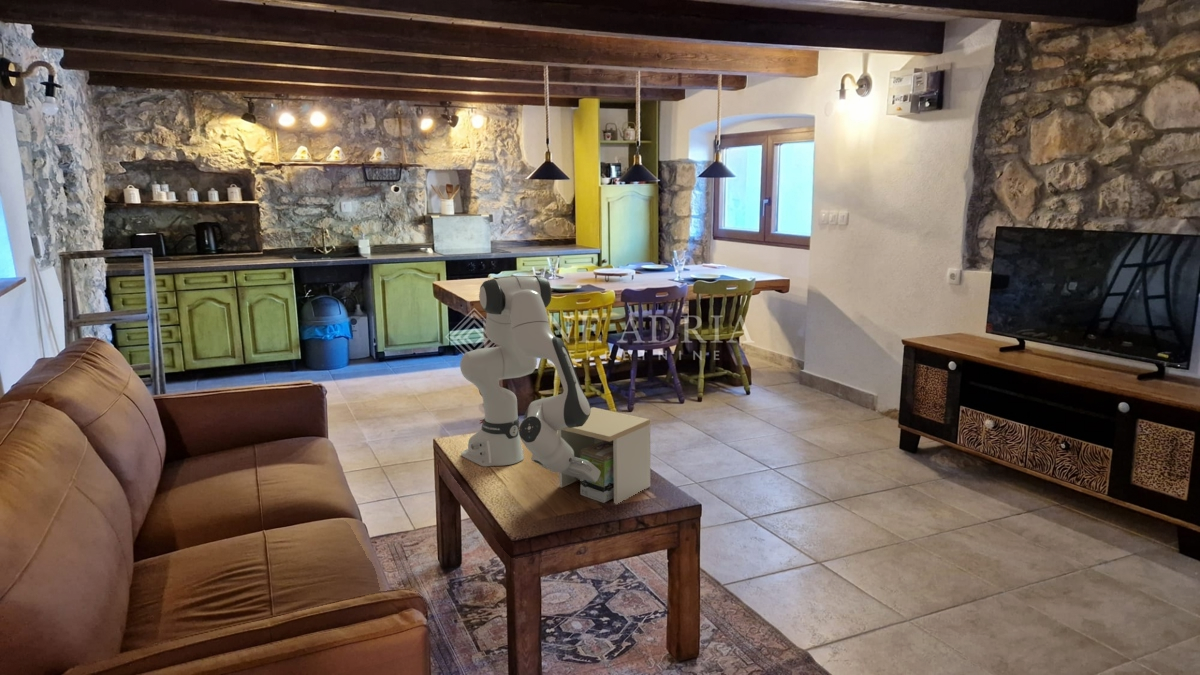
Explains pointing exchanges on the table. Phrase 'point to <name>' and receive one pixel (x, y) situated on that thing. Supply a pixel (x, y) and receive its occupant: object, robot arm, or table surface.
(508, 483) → the table surface
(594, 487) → the tea box
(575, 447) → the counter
